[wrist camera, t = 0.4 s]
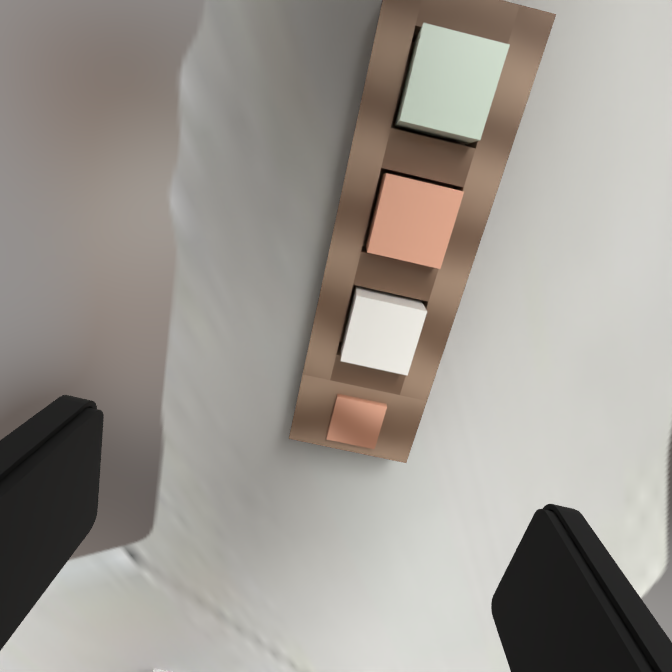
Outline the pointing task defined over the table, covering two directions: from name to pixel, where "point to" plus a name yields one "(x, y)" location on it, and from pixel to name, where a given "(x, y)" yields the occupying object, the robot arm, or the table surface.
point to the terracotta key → (413, 220)
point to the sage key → (450, 84)
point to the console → (396, 275)
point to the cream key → (382, 330)
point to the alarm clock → (157, 671)
